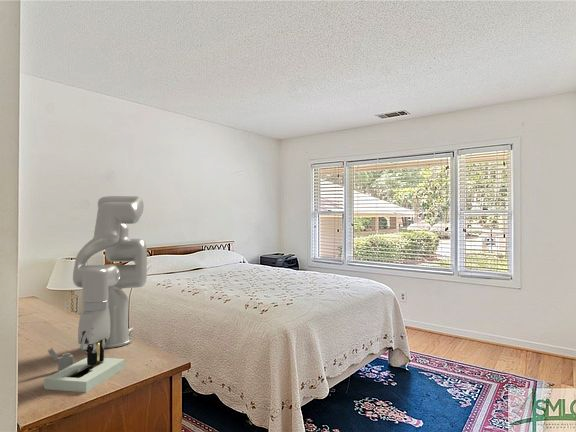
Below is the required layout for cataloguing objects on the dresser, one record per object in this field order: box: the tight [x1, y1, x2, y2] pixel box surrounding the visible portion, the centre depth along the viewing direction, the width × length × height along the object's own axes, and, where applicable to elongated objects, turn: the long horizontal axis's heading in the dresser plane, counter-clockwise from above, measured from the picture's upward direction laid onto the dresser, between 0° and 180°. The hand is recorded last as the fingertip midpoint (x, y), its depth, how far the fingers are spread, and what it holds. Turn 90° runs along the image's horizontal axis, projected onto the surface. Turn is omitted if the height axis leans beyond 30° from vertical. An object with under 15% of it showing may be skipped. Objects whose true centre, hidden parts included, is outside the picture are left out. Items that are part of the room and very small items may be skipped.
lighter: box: [47, 347, 74, 372], centre depth 121 cm, size 7×2×8 cm, turn 127°
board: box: [43, 357, 126, 393], centre depth 115 cm, size 18×14×3 cm
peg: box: [87, 341, 100, 374], centre depth 119 cm, size 4×4×10 cm
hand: (95, 362), depth 119 cm, fingers closed on peg, 2 cm apart
